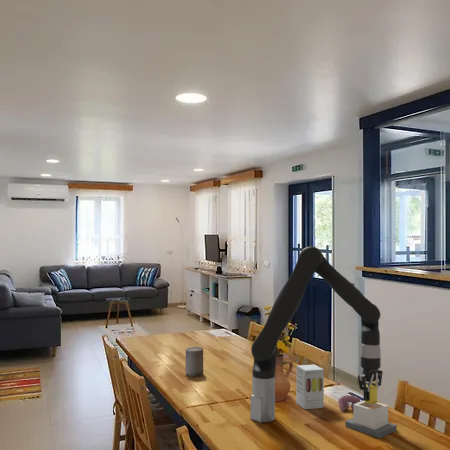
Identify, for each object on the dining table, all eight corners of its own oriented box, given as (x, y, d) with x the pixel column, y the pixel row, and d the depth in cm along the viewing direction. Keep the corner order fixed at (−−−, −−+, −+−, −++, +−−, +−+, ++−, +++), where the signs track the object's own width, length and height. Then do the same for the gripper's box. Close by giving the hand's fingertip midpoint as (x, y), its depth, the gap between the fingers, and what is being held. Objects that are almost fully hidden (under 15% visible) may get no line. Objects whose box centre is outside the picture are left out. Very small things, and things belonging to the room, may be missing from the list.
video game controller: (360, 412, 208) (358, 395, 212) (364, 411, 204) (361, 394, 208) (338, 413, 208) (336, 396, 211) (341, 411, 204) (339, 394, 207)
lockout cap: (372, 404, 184) (372, 388, 184) (361, 401, 188) (361, 385, 188) (379, 401, 187) (379, 386, 187) (368, 398, 191) (368, 383, 191)
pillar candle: (204, 371, 265) (204, 344, 266) (201, 376, 255) (201, 348, 256) (187, 371, 266) (187, 344, 267) (183, 376, 256) (183, 348, 257)
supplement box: (304, 409, 207) (304, 370, 207) (295, 402, 216) (295, 365, 216) (324, 407, 209) (324, 369, 210) (315, 401, 218) (315, 363, 219)
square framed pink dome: (379, 438, 177) (379, 413, 178) (345, 426, 189) (345, 403, 189) (396, 430, 185) (396, 406, 185) (362, 419, 197) (362, 396, 197)
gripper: (368, 359, 180) (368, 405, 180) (389, 354, 190) (389, 397, 189) (351, 356, 186) (351, 400, 186) (372, 350, 195) (372, 393, 195)
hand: (370, 398), depth 187 cm, fingers closed on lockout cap, 4 cm apart
